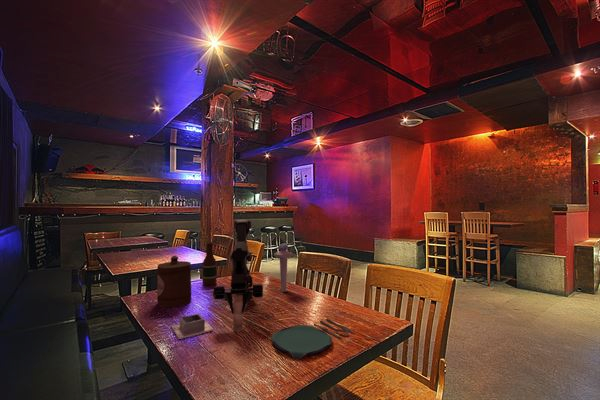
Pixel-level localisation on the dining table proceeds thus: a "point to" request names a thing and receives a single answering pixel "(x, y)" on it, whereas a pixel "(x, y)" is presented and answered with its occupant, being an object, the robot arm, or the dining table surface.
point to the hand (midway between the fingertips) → (237, 313)
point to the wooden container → (174, 283)
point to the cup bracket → (191, 326)
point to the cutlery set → (305, 339)
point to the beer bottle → (209, 267)
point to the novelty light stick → (283, 264)
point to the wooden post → (237, 312)
